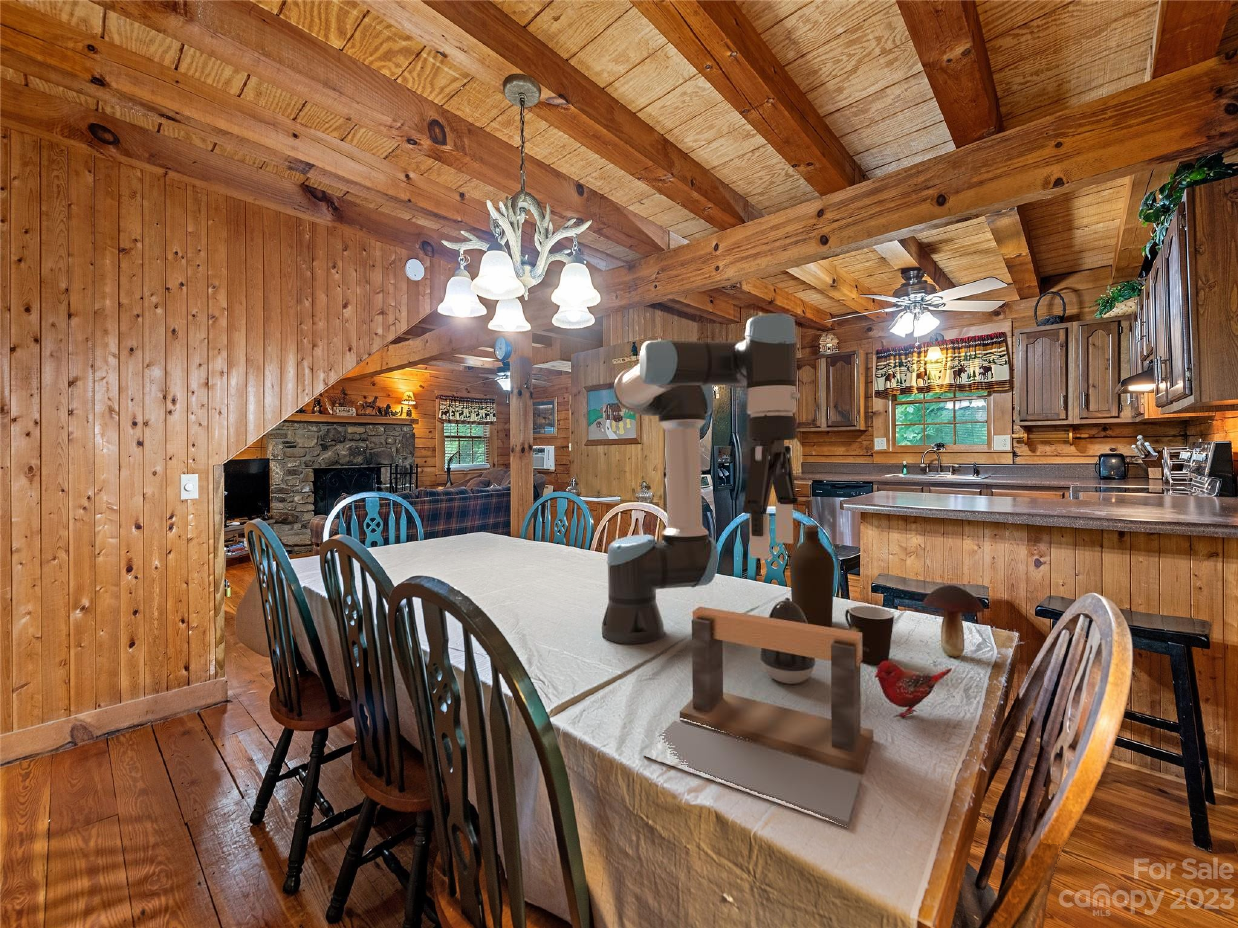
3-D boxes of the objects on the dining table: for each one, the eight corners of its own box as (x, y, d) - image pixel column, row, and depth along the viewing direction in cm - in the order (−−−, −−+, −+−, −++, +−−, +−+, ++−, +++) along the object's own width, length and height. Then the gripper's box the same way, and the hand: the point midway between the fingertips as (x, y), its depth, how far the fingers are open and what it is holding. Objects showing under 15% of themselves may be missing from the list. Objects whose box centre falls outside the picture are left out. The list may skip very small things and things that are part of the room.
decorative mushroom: (912, 647, 116) (912, 580, 116) (958, 644, 117) (958, 578, 117) (946, 667, 106) (947, 593, 105) (998, 665, 106) (998, 591, 106)
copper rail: (692, 634, 90) (692, 611, 89) (700, 629, 92) (699, 606, 92) (859, 666, 75) (859, 638, 75) (862, 659, 78) (862, 632, 78)
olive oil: (805, 632, 126) (804, 529, 126) (782, 619, 137) (781, 523, 136) (844, 628, 129) (843, 527, 128) (818, 615, 139) (817, 521, 138)
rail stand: (679, 719, 88) (678, 621, 87) (704, 695, 96) (702, 605, 95) (863, 774, 72) (862, 655, 72) (873, 739, 81) (873, 633, 80)
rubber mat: (643, 756, 78) (643, 751, 77) (674, 725, 86) (674, 720, 86) (847, 828, 62) (847, 821, 62) (861, 782, 71) (861, 776, 71)
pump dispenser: (815, 669, 106) (814, 595, 105) (816, 693, 96) (815, 610, 96) (762, 664, 109) (761, 591, 109) (758, 686, 99) (757, 606, 99)
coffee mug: (900, 669, 105) (900, 619, 105) (854, 666, 107) (853, 617, 107) (883, 647, 117) (883, 602, 117) (841, 644, 119) (841, 601, 118)
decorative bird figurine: (867, 720, 86) (867, 660, 86) (944, 699, 93) (944, 643, 92) (882, 728, 84) (882, 667, 83) (960, 707, 90) (960, 649, 90)
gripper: (772, 410, 70) (774, 568, 71) (813, 417, 91) (814, 538, 92) (719, 413, 74) (721, 562, 75) (770, 419, 95) (772, 535, 96)
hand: (772, 549), depth 84 cm, fingers open, 13 cm apart
